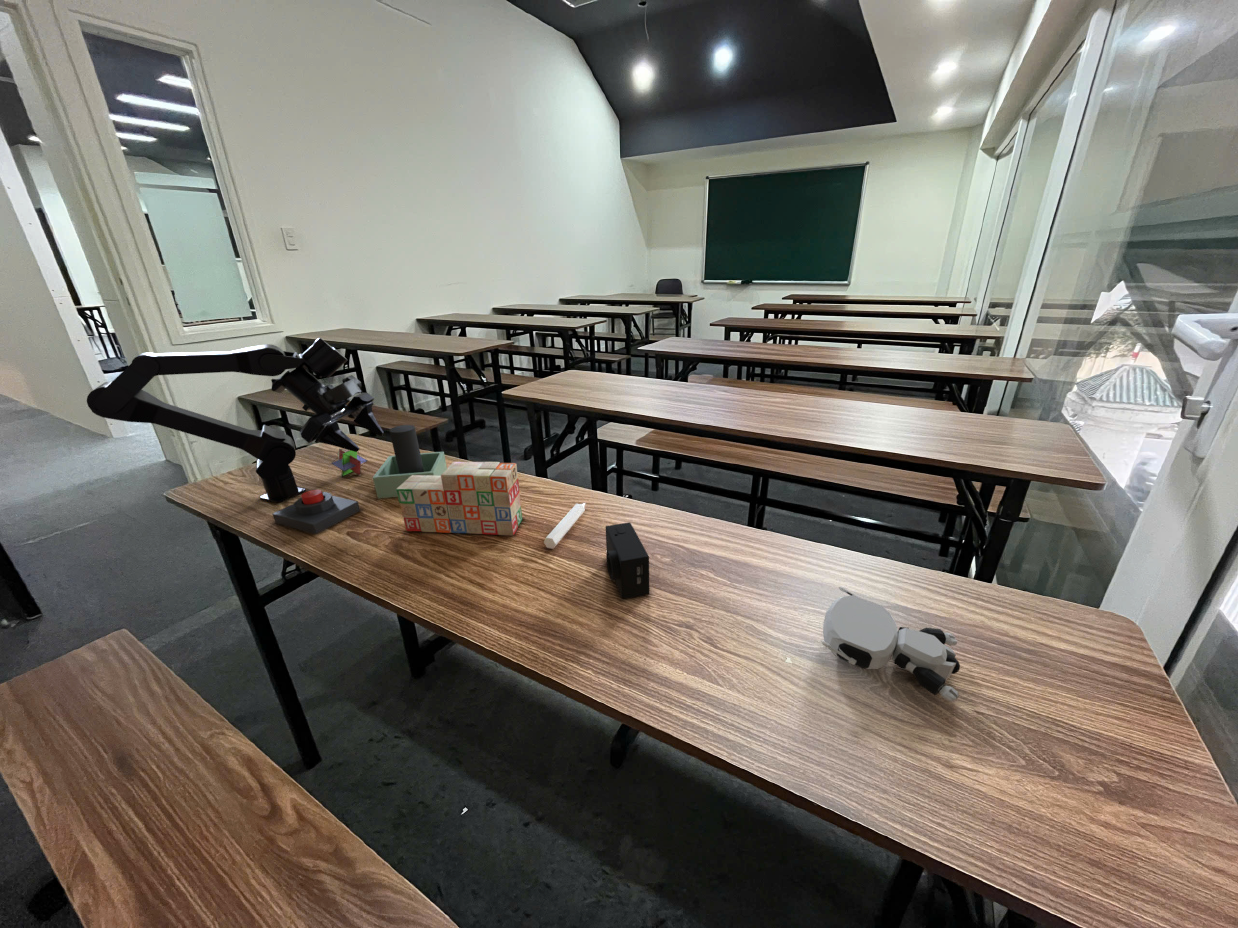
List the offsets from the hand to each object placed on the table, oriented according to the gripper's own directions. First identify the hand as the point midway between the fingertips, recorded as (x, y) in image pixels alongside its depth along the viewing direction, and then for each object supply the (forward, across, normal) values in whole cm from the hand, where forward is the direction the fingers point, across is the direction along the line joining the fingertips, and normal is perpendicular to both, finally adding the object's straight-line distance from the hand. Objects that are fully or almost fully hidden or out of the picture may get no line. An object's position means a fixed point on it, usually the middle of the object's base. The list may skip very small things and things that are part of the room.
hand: (370, 442), depth 107 cm
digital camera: (+48, -30, -37) cm, 68 cm away
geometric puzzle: (0, +5, +16) cm, 16 cm away
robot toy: (+72, -43, -62) cm, 104 cm away
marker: (+40, -15, -28) cm, 51 cm away
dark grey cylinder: (+12, +1, +2) cm, 13 cm away
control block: (+4, -15, +10) cm, 19 cm away
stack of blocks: (+26, -16, -13) cm, 34 cm away
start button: (+2, -15, +8) cm, 17 cm away
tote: (+13, +1, +2) cm, 13 cm away
